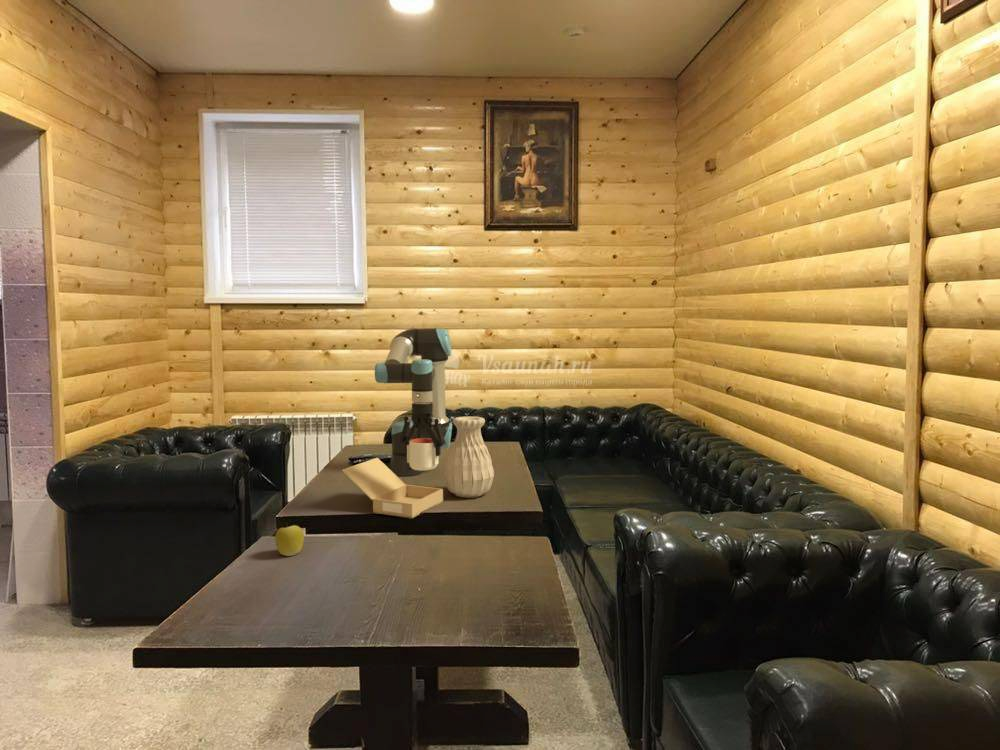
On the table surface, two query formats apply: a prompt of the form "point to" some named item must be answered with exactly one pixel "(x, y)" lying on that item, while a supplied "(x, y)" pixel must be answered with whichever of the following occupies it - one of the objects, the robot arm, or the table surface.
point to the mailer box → (407, 501)
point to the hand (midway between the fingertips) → (422, 463)
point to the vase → (468, 460)
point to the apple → (289, 540)
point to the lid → (373, 478)
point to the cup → (421, 454)
